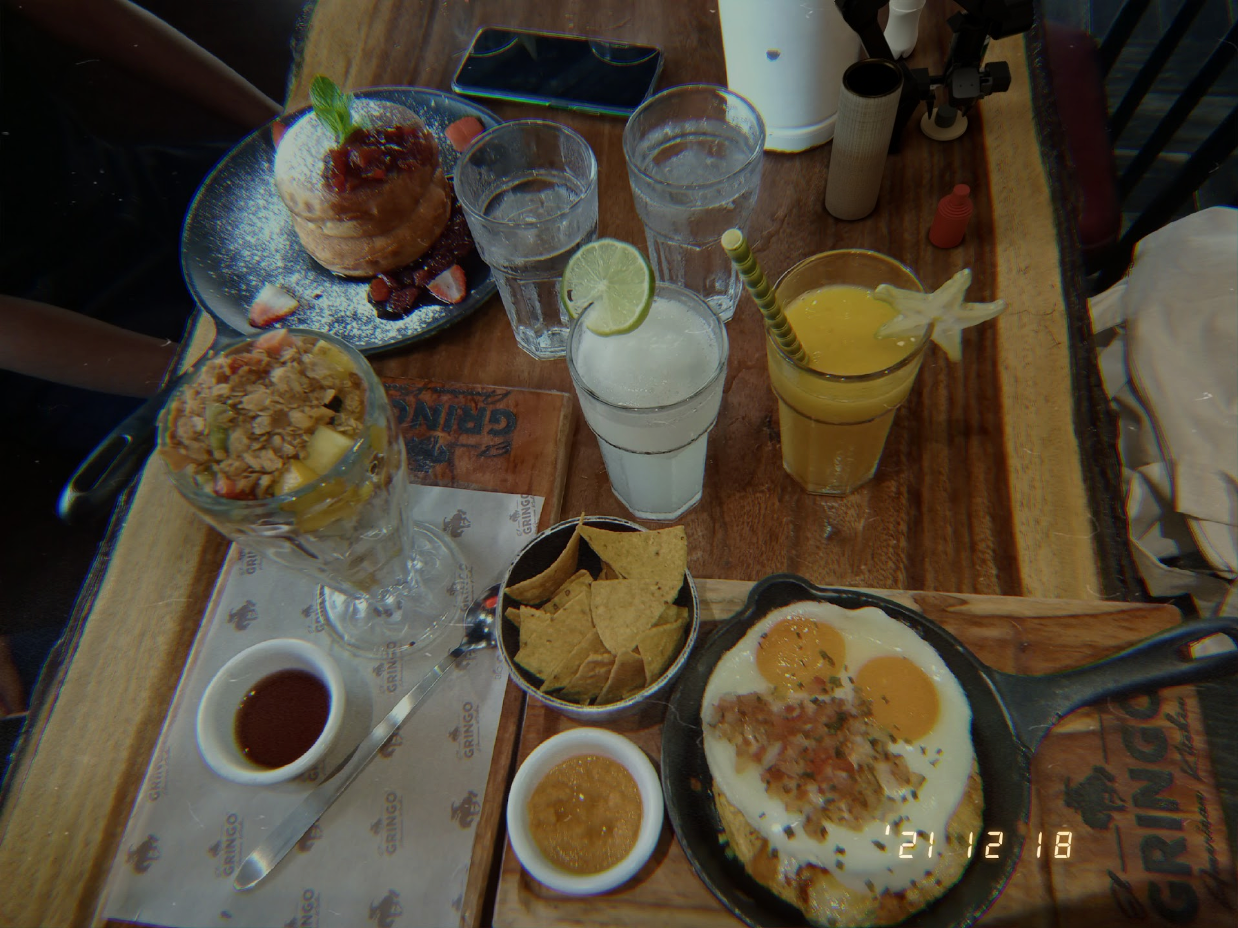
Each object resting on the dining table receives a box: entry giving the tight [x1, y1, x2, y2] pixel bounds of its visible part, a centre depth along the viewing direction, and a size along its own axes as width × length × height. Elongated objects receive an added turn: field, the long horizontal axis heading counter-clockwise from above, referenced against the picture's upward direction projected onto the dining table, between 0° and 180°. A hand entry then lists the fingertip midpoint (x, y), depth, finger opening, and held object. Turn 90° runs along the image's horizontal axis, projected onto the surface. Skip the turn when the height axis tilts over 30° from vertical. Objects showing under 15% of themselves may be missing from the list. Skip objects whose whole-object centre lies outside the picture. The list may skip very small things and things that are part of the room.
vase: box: [824, 57, 904, 221], centre depth 134 cm, size 10×10×28 cm
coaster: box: [920, 107, 969, 141], centre depth 151 cm, size 9×9×1 cm
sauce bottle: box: [928, 183, 974, 249], centre depth 134 cm, size 6×6×12 cm
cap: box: [934, 103, 959, 128], centre depth 150 cm, size 4×4×3 cm
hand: (945, 117), depth 150 cm, fingers open, 6 cm apart
